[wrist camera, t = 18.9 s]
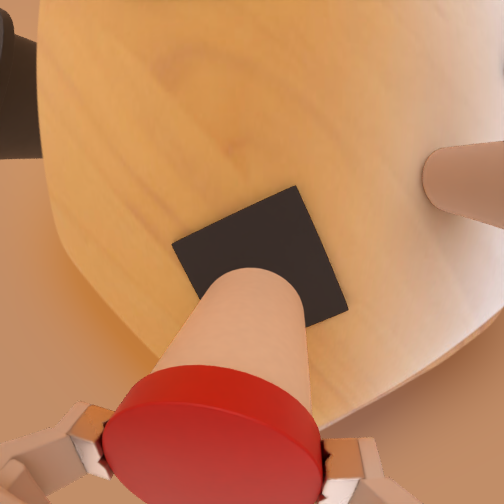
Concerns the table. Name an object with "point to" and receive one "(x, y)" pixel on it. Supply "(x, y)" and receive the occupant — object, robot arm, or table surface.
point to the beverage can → (468, 181)
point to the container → (225, 405)
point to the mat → (267, 252)
